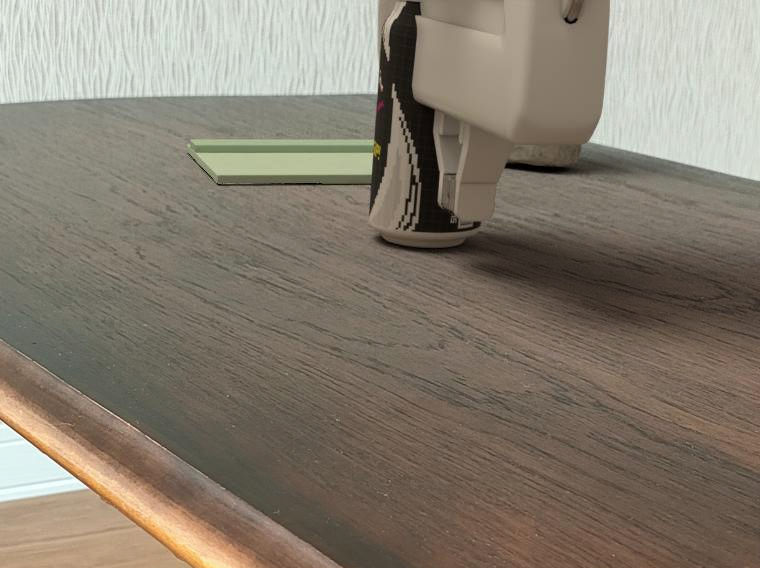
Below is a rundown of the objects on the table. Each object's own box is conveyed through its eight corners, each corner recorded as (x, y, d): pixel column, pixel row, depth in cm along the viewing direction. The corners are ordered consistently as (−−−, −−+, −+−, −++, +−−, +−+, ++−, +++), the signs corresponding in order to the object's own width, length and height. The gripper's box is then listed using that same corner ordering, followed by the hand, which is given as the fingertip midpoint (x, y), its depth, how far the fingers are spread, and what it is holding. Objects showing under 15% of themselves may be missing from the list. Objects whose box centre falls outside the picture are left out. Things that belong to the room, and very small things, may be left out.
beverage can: (382, 224, 78) (399, -13, 73) (487, 234, 76) (512, -8, 72) (355, 245, 73) (371, -8, 68) (467, 256, 72) (492, -2, 67)
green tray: (411, 152, 101) (413, 136, 101) (468, 183, 91) (470, 165, 90) (186, 152, 99) (186, 136, 98) (217, 184, 88) (217, 166, 87)
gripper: (672, -102, 54) (620, 265, 60) (484, -103, 72) (458, 177, 78) (512, -107, 53) (475, 267, 59) (362, -107, 71) (345, 178, 77)
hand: (464, 215), depth 68 cm, fingers closed
